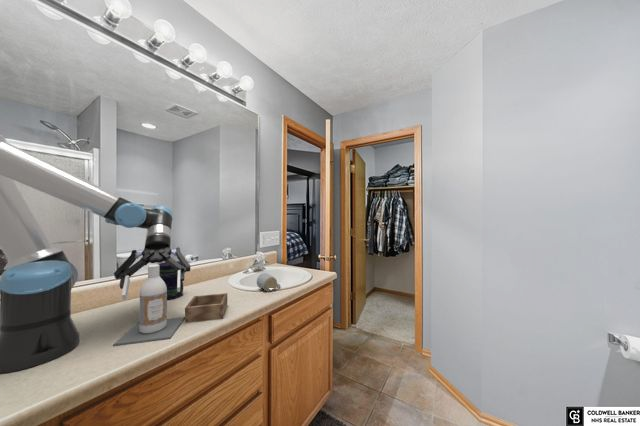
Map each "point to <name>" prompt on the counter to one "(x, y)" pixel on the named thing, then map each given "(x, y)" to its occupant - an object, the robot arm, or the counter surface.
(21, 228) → the robot arm
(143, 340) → the rubber mat
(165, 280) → the storage jar
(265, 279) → the ceramic mug
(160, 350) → the counter surface
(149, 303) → the bath foam
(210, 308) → the wooden tray
